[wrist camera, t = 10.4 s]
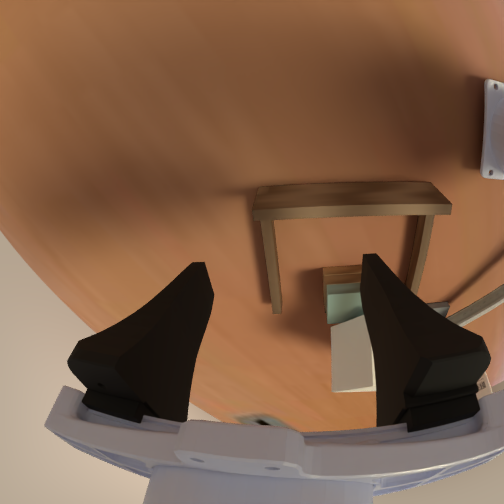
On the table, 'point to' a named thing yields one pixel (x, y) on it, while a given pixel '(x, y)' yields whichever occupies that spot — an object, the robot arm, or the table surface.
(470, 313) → the caliper
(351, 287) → the block
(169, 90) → the table surface
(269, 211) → the frame
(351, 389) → the cream tapered prism
